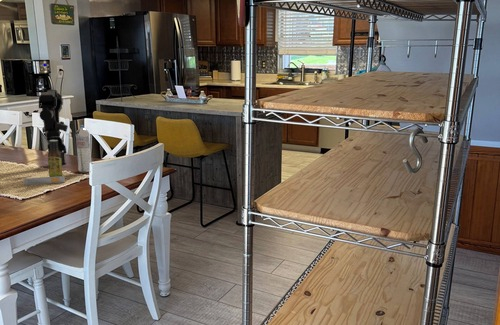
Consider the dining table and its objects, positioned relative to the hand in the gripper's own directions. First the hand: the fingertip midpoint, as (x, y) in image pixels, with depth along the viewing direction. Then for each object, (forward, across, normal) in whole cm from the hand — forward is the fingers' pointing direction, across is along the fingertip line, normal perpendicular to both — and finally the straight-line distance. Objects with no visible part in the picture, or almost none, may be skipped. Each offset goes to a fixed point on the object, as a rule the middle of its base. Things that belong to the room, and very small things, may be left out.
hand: (52, 147), depth 235 cm
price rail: (+13, -23, +8) cm, 27 cm away
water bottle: (+13, -8, -14) cm, 21 cm away
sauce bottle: (+13, -17, +1) cm, 21 cm away
